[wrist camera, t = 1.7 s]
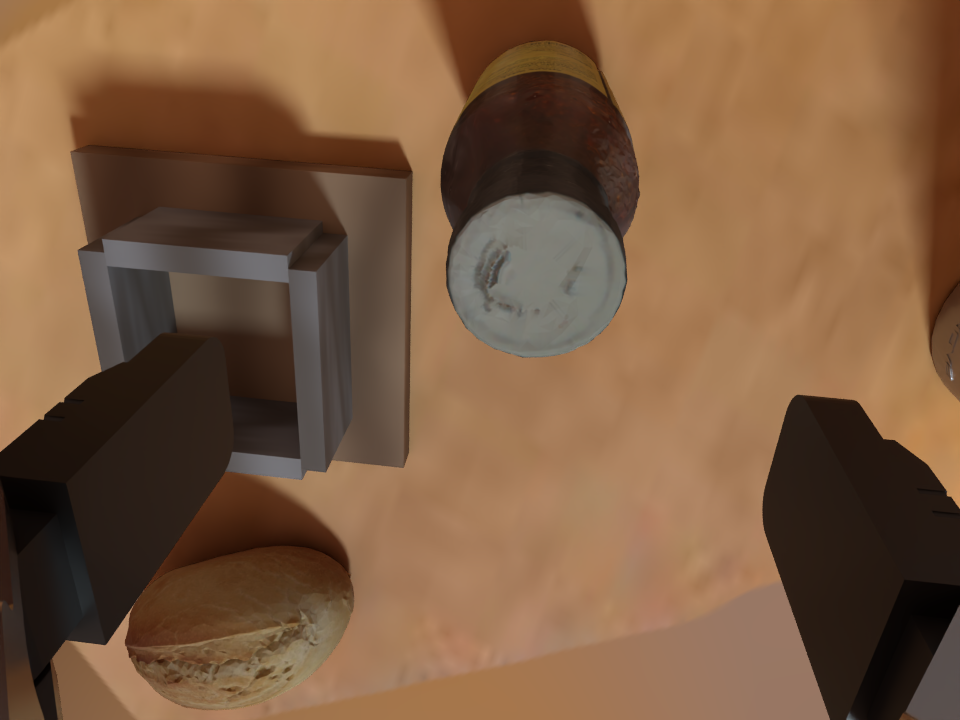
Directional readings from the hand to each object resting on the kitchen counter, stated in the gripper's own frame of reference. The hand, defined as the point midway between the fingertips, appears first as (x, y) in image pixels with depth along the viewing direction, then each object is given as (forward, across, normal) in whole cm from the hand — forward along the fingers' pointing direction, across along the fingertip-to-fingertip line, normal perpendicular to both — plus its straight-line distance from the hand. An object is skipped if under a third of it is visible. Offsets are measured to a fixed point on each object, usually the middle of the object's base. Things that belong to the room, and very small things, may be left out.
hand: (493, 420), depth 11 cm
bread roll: (+26, +16, +31) cm, 44 cm away
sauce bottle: (+26, 0, 0) cm, 26 cm away
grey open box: (+26, +14, +11) cm, 32 cm away
